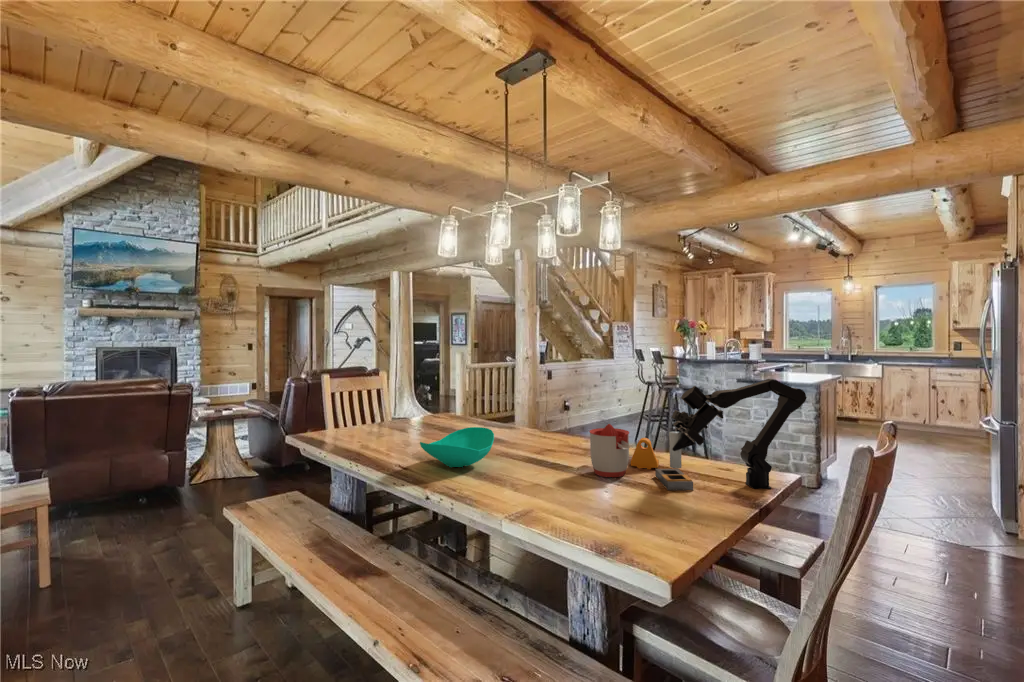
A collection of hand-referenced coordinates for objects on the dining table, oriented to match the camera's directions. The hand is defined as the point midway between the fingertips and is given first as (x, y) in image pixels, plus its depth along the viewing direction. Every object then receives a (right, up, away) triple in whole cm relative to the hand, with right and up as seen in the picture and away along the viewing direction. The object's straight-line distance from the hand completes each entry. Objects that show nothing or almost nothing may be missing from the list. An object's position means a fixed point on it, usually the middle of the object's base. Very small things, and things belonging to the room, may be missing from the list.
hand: (671, 448), depth 172 cm
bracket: (-2, -14, +26) cm, 30 cm away
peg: (+1, -7, 0) cm, 7 cm away
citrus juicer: (-19, -14, +15) cm, 28 cm away
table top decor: (-81, -15, +31) cm, 88 cm away
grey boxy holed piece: (+2, -13, +3) cm, 14 cm away
